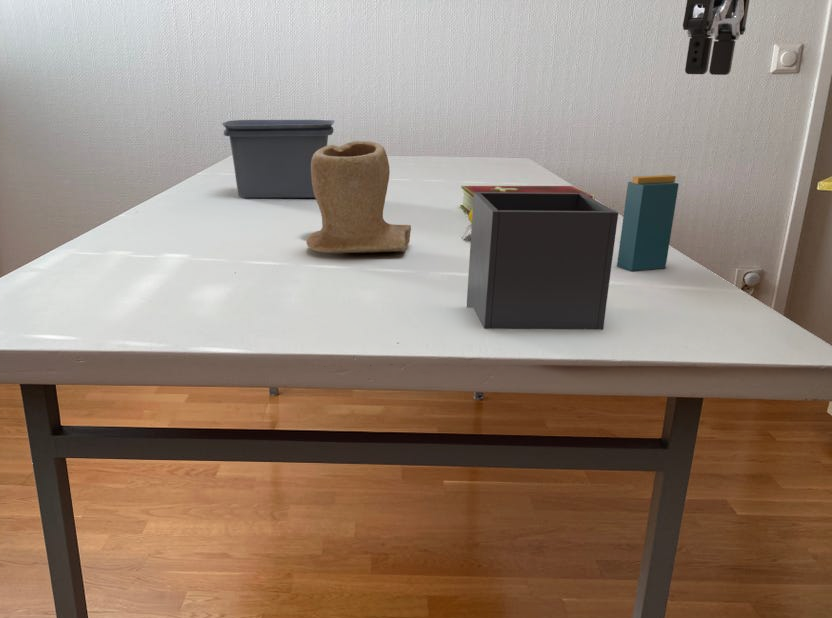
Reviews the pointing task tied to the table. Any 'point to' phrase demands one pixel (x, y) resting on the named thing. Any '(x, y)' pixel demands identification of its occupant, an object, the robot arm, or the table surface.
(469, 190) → the hardcover book
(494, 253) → the trash bin
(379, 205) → the stone cup
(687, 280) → the table surface
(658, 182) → the block
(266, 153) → the storage bin
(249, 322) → the table surface
